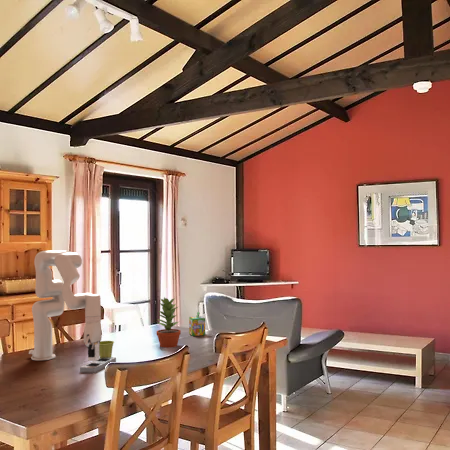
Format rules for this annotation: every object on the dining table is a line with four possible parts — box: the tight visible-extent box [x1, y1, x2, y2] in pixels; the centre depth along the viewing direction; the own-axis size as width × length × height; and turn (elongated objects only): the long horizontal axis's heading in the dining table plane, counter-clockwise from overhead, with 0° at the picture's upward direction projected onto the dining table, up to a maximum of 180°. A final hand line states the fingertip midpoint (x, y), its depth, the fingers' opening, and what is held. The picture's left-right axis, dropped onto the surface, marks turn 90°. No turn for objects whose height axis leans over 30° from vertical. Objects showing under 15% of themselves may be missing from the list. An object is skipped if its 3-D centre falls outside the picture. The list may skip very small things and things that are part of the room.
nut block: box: [87, 342, 100, 362], centre depth 259 cm, size 4×4×8 cm
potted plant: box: [156, 296, 181, 349], centre depth 313 cm, size 15×15×30 cm
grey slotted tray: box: [79, 356, 117, 374], centre depth 264 cm, size 8×22×2 cm, turn 164°
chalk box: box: [188, 311, 206, 337], centre depth 346 cm, size 9×9×15 cm
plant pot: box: [99, 340, 115, 358], centre depth 283 cm, size 9×9×9 cm
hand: (93, 355), depth 259 cm, fingers closed on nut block, 4 cm apart
